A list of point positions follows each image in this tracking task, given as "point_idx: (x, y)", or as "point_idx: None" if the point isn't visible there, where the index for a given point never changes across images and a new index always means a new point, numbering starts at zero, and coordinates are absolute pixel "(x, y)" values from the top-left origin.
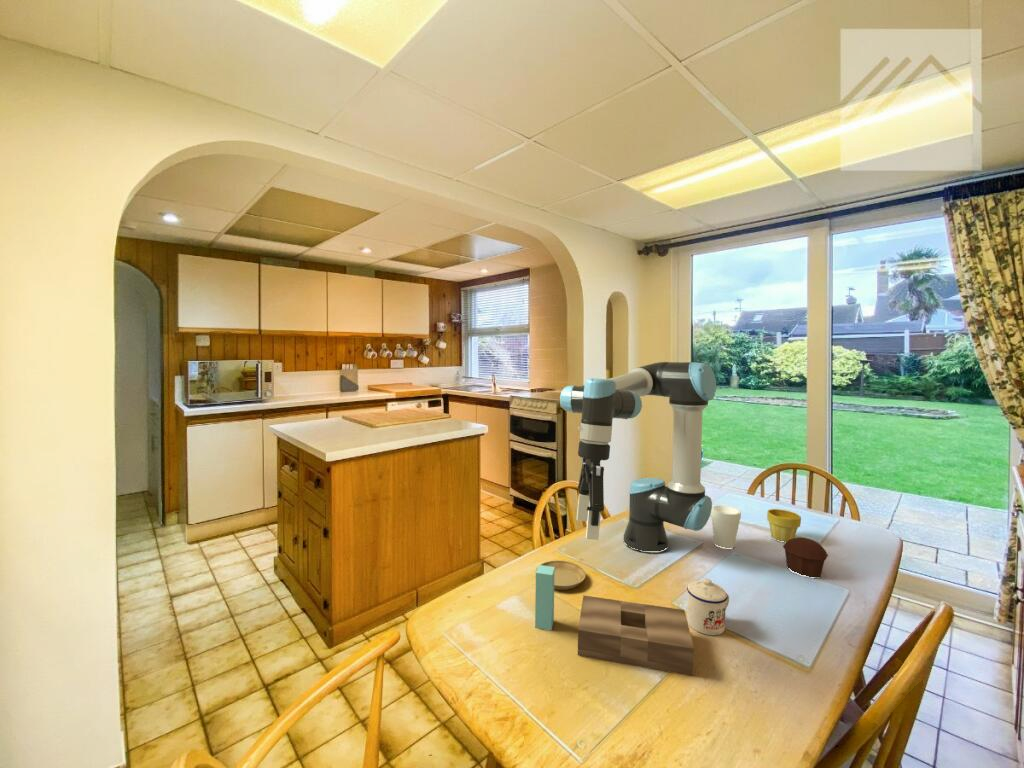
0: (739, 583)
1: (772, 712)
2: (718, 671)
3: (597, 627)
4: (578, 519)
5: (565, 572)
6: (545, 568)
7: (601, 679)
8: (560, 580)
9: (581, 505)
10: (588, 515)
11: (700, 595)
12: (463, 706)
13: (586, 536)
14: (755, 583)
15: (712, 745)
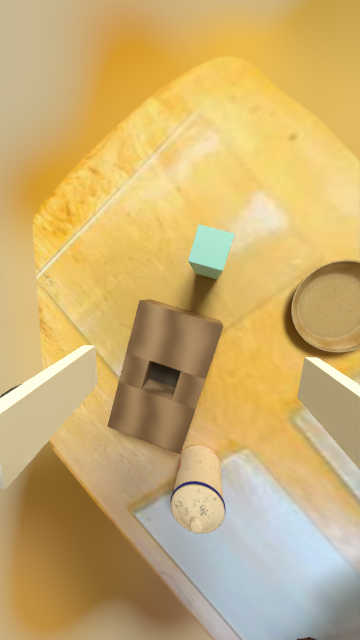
0: (288, 556)
1: (84, 448)
2: None
3: (144, 327)
4: (305, 363)
5: (356, 319)
6: (216, 248)
7: (116, 317)
8: (328, 306)
9: (355, 413)
10: (9, 394)
11: (180, 493)
12: (79, 166)
13: (83, 348)
14: (285, 575)
15: None
